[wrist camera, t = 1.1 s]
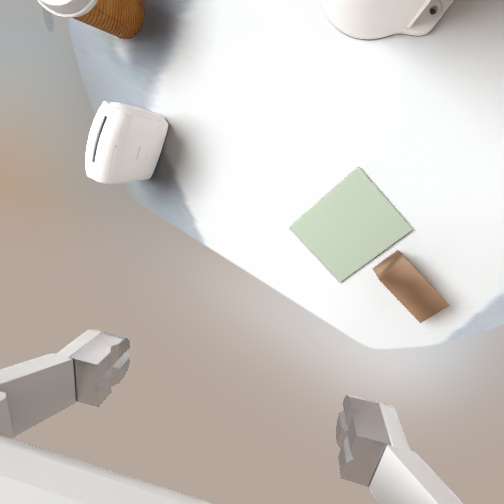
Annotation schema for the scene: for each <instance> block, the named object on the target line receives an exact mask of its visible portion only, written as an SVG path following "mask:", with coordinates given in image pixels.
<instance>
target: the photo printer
mask: <svg viewBox="0 0 504 504" xmlns="http://www.w3.org/2000/svg"><path fill="white" fill-rule="evenodd" d="M167 130H168V123H167V121H166V120H165V118H164V117H163V116H162V115H160V114H158V113H154V112H151V111H147V110H144V109H140V108H137V107H133V106H130V105H126V104H122V103H118V102H109V101H104V102H103V103H102V105H101V106H100V108H99V110H98V112H97V114H96V116H95V118H94V121H93V124H92V127H91V129H90V134H89V136H88V142H87V148H86V157H85V158H86V159H85V167H86V173H87V176H88V177H90V178H93V179H94V180H95V181H98V182H101V183H106V184H119V183H127V182H134V181H141V180H147V179H150V178H151V176H152V174H153V172H154V170H155V167H156V165H157V162H158V159H159V156H160V153H161V150H162V147H163V144H164V141H165V137H166V134H167Z"/></svg>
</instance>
